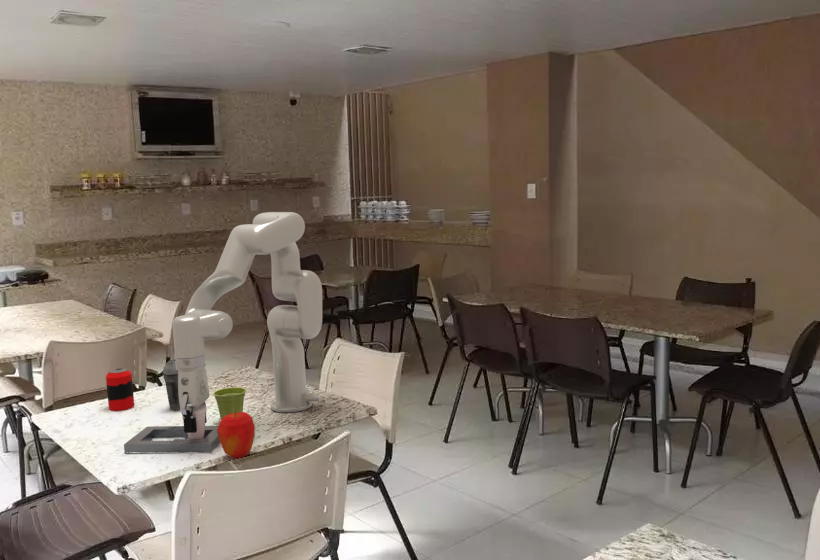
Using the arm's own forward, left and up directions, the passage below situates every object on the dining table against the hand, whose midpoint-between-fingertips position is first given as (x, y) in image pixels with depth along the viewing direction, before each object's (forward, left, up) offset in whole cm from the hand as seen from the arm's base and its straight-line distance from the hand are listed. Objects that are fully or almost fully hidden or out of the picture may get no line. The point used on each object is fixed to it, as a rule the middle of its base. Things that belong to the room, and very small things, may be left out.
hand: (195, 427), depth 191 cm
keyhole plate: (+5, 0, -4) cm, 6 cm away
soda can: (+37, -33, -5) cm, 49 cm away
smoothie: (0, 0, -5) cm, 5 cm away
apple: (-14, +10, -5) cm, 18 cm away
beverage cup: (+18, -31, -5) cm, 36 cm away
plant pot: (-3, -19, -5) cm, 20 cm away
